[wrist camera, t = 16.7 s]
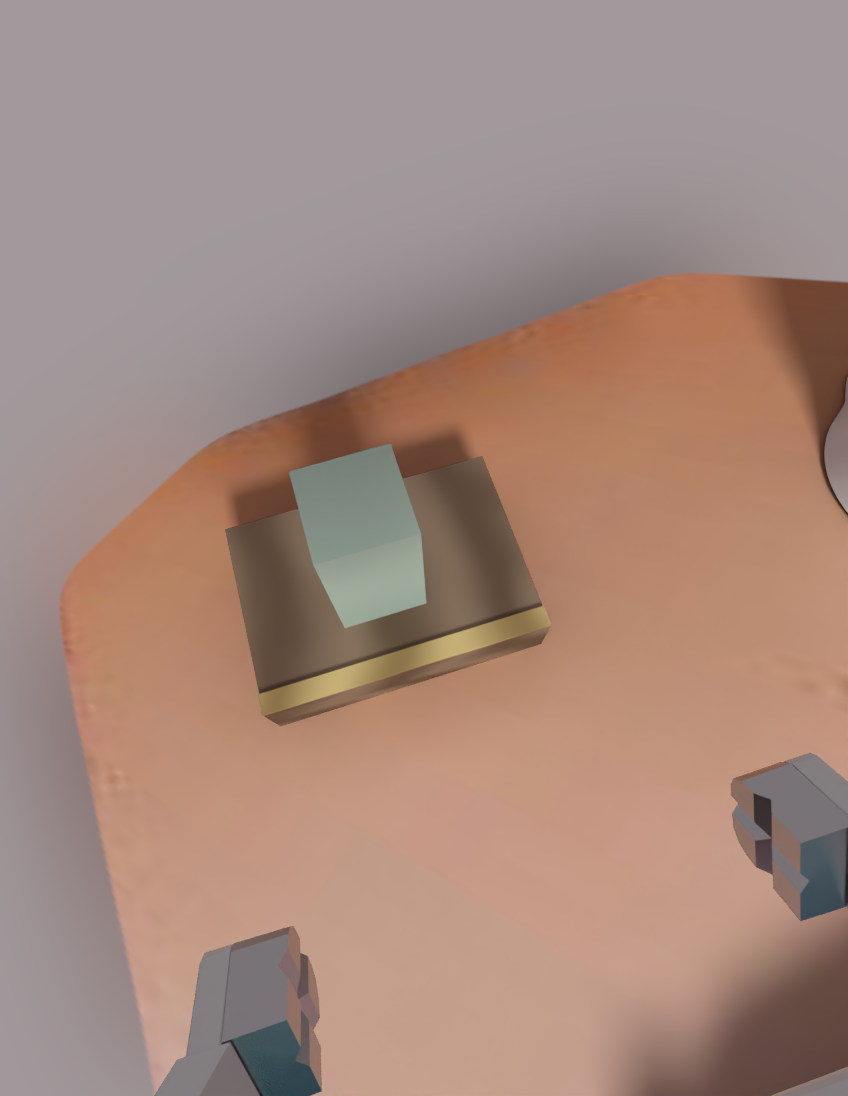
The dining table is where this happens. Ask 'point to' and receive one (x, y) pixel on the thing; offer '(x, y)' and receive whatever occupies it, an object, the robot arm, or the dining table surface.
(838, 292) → the dining table surface
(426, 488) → the block
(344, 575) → the block
